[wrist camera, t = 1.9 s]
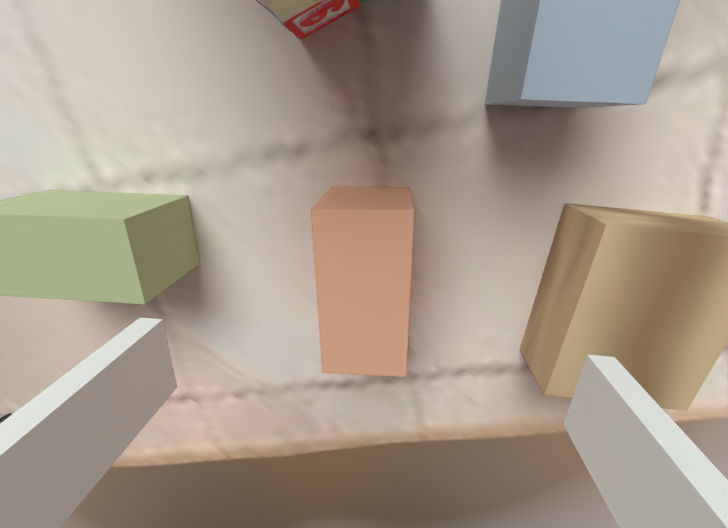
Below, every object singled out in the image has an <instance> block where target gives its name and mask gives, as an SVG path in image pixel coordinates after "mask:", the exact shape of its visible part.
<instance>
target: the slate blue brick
mask: <svg viewBox="0 0 728 528" xmlns="http://www.w3.org/2000/svg"><path fill="white" fill-rule="evenodd" d="M679 1H680V0H501V5H500V12H499V18H498V24H497V30H496V37H495V43H494V49H493V56H492V62H491V68H490V74H489V81H488V87H487V93H486V100H485V105H508V106H534V107H560V108H584V107H601V106H619V105H637V104H646V102H647V99H648V96H649V93H650V90H651V87H652V84H653V81H654V78H655V75H656V72H657V68H658V65H659V62H660V59H661V56H662V53H663V50H664V47H665V44H666V41H667V38H668V35H669V31H670V28H671V25H672V22H673V19H674V16H675V13H676V10H677V7H678V4H679Z"/></svg>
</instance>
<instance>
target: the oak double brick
mask: <svg viewBox="0 0 728 528" xmlns="http://www.w3.org/2000/svg"><path fill="white" fill-rule="evenodd" d="M727 342H728V222H724V221H721V220H718V219H715V218H712V217H708V216H697V215H686V214H675V213H664V212H653V211H642V210H631V209H620V208H609V207H598V206H587V205H576V204H564V207H563V210H562V214H561V217H560V220H559V223H558V227H557V230H556V233H555V236H554V240H553V243H552V246H551V249H550V253H549V256H548V259H547V262H546V266H545V269H544V272H543V275H542V279H541V282H540V285H539V288H538V292H537V295H536V298H535V301H534V305H533V308H532V311H531V314H530V318H529V321H528V324H527V327H526V331H525V334H524V337H523V340H522V344H521V347H520V351H521V353H522V355H523V357H524V359H525V361H526V362H527V364H528V366H529V368H530V370H531V371H532V373H533V375H534V377H535V379H536V381H537V382H538V384H539V386H540V388H541V390H542V392H543V393H544V395H550V396H559V397H568V398H573V395H574V392H575V389H576V386H577V383H578V380H579V377H580V374H581V372H582V369H583V366H584V363H585V360H586V357H587V355H597V356H609V357H615V358H616V359H617V360H618V361H619V362H620V364H621V365H622V366H623V367H624V368H625V369H626V370H627V371H628V372H629V373H630V374H631V376H632V377H633V378H634V379H635V380H636V381H637V382H638V383H639V384H640V385H641V386H642V388H643V389H644V390H645V391H646V392H647V393H648V394H649V395H650V396H651V397H652V398H653V400H654V401H655V402H656V403H657V404H658V405H659V406H660V407H661V408H665V409H674V410H683V411H687V410H688V408H689V406H690V404H691V403H692V401H693V399H694V398H695V396H696V394H697V393H698V391H699V389H700V388H701V386H702V384H703V382H704V381H705V379H706V377H707V376H708V374H709V372H710V371H711V369H712V367H713V365H714V364H715V362H716V360H717V359H718V357H719V355H720V354H721V352H722V350H723V349H724V347H725V345H726V343H727Z"/></svg>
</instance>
